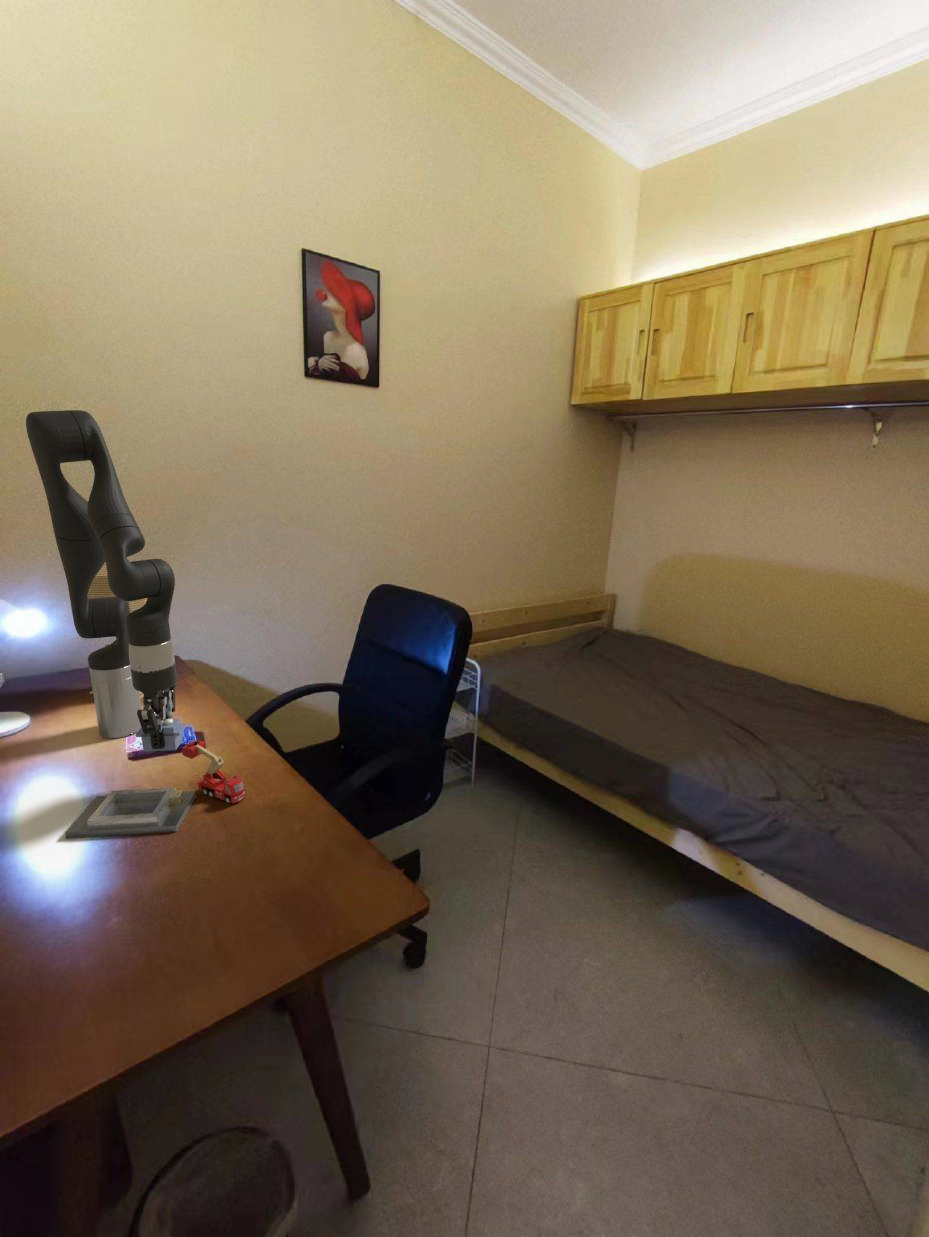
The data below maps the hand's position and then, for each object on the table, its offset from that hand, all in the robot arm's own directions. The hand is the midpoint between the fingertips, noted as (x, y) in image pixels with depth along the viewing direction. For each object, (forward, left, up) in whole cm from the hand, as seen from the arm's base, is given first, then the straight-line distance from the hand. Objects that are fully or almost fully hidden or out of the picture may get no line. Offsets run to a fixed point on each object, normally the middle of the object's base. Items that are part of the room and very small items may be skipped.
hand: (162, 741), depth 109 cm
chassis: (+11, -2, -9) cm, 15 cm away
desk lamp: (-51, -27, -10) cm, 59 cm away
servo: (0, 0, -1) cm, 1 cm away
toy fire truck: (+5, +11, -10) cm, 15 cm away
